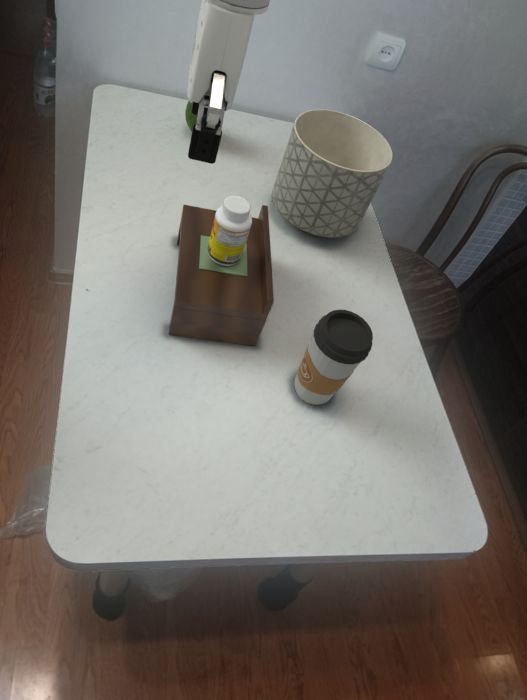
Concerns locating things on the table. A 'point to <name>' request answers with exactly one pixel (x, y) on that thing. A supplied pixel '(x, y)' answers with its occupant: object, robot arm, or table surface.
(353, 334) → the coffee cup
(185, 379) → the table surface
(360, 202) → the planter
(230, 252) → the supplement bottle
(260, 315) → the shelf
